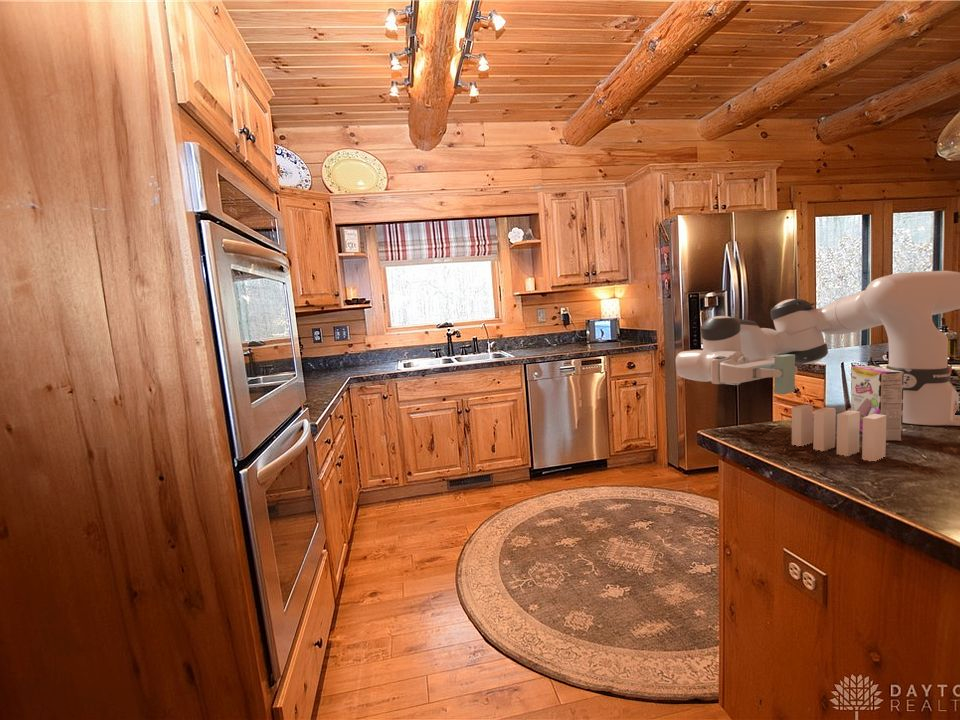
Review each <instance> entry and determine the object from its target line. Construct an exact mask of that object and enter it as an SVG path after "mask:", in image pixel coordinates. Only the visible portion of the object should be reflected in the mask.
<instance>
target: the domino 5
mask: <svg viewBox="0 0 960 720" xmlns="http://www.w3.org/2000/svg"><path fill="white" fill-rule="evenodd" d="M886 442H887V441H886V415H881V414H872V415H869V416H866V417H863V434H862V442H861V443H862V446H861V447H862V448H861V451H862V452H861V460H862V459H863V461H866V460H868V461H867V462H871V461H875V462H877V460H878V461H880V460H882V459H884V458H883V457H885V458H886V448H887V447H886V446H887V445H886V444H887V443H886ZM881 458H882V459H881ZM879 459H880V460H879Z"/></svg>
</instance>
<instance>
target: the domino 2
mask: <svg viewBox="0 0 960 720" xmlns="http://www.w3.org/2000/svg"><path fill="white" fill-rule="evenodd" d="M813 430H814V405H812V404H811V405H810V404H800V405H796V406H792V407H791V445H792V446H794V445H796V447H799V446H802V447H804V445H805V446H808V445H810V443H811V444H813ZM807 444H808V445H807Z"/></svg>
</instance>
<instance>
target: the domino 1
mask: <svg viewBox="0 0 960 720" xmlns="http://www.w3.org/2000/svg"><path fill="white" fill-rule="evenodd" d="M774 359H775V369H781V370H783V376H782V377H779V378H776V377H773V378H774V380H773V381H774V382H773V383H774V386H773V387H774V390H773V391H774V392H773V393H774V394H775V395H788V394H791V393H795V391H796V388H795V387H796V381H795V380H796V374H795V366H796V363H795V355H791V354H785V355H783V354H778V355H776V356H774Z"/></svg>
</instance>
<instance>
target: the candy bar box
mask: <svg viewBox="0 0 960 720" xmlns="http://www.w3.org/2000/svg"><path fill="white" fill-rule="evenodd" d="M886 368H887V367H886ZM886 368H885V367H882V366H876V365H855V366H851V367H850V376H851V377H850V411H858V412H860V432H859V434H862V435H863V417H866V416H869V415H872V414H881V415H886V442H902V441H903V423H902V422H903V379H904V372H901V371H896V370H891V369H886Z"/></svg>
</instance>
